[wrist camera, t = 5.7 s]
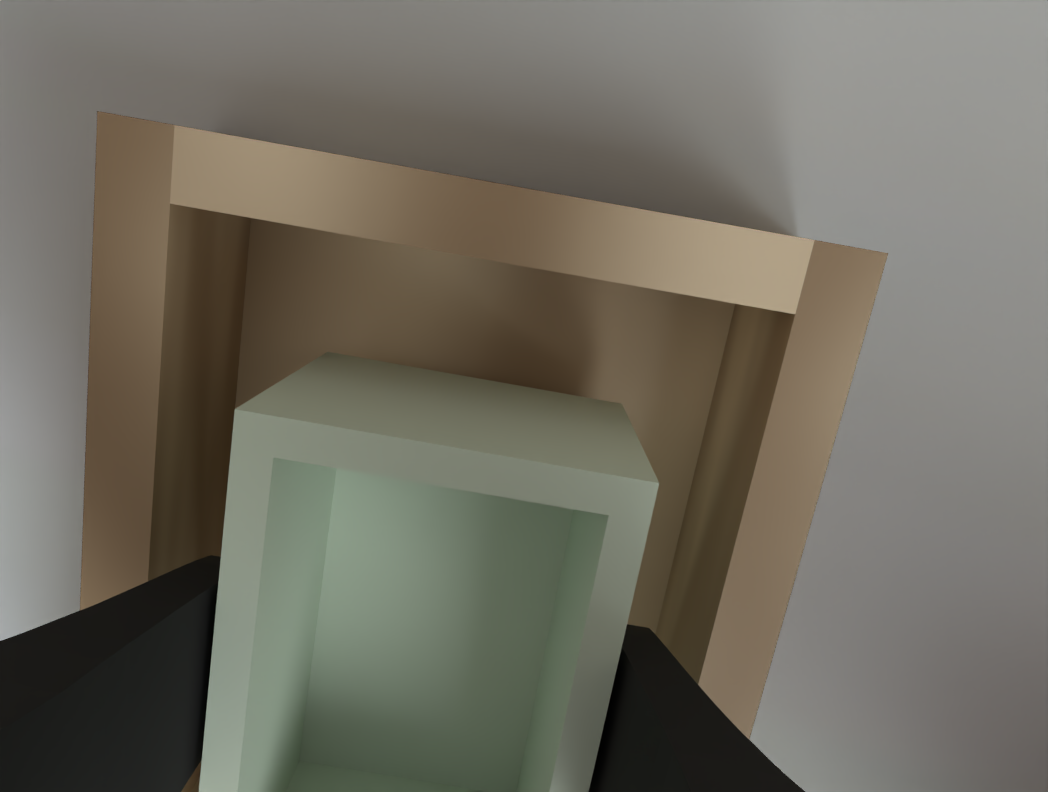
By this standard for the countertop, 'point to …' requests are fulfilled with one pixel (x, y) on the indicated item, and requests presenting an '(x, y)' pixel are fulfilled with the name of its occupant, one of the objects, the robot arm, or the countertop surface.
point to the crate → (466, 354)
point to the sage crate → (421, 583)
